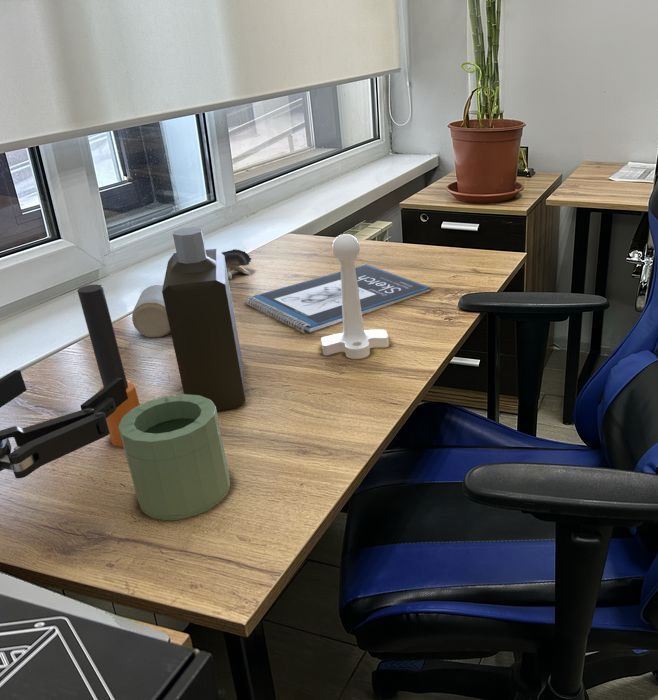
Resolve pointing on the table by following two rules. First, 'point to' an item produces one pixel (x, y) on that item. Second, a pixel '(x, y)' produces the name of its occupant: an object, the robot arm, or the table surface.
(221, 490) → the sage green tumbler
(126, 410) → the brush
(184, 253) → the bottle
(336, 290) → the sketchbook
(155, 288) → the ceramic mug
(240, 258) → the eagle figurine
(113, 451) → the table surface
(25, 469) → the robot arm
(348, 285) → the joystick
